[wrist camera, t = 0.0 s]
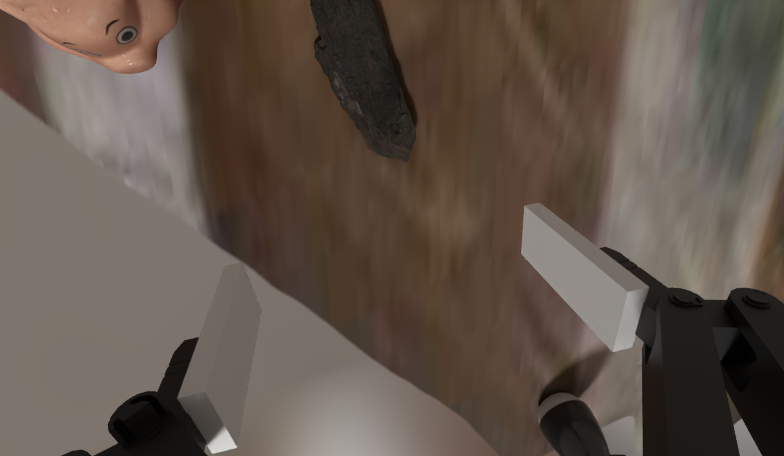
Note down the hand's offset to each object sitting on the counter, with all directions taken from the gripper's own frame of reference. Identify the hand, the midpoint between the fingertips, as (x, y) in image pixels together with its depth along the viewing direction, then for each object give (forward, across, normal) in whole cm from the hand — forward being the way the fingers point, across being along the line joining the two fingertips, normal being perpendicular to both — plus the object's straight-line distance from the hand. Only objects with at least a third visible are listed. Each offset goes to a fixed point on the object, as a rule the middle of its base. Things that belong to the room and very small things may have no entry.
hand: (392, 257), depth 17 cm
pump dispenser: (+28, +32, -62) cm, 75 cm away
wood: (+29, +3, +5) cm, 29 cm away
